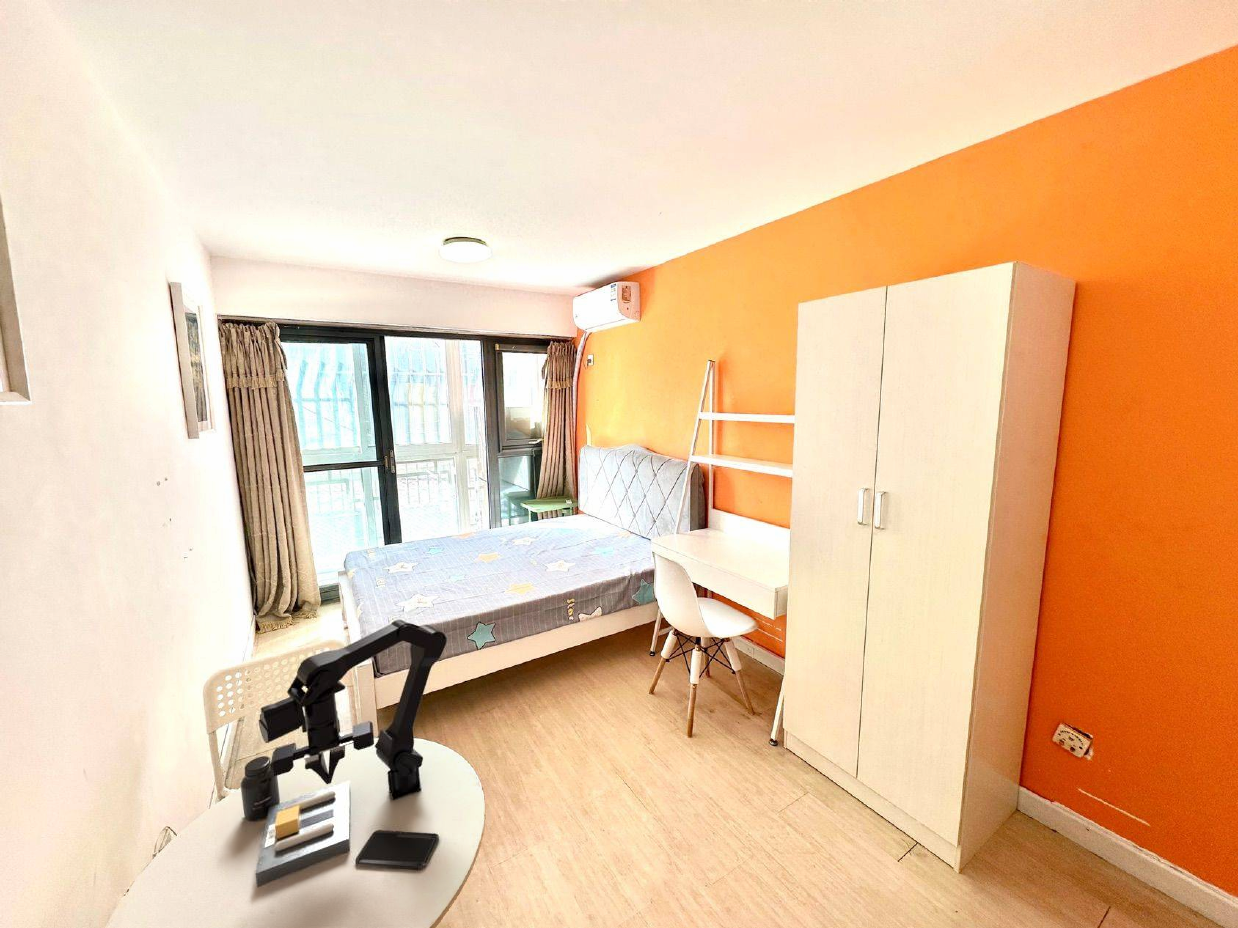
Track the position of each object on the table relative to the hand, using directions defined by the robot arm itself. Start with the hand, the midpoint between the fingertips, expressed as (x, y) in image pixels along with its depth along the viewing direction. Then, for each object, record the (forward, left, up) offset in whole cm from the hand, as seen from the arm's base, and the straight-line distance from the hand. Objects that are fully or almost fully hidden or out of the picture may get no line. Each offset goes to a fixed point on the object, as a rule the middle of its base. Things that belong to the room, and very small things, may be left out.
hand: (329, 782), depth 108 cm
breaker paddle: (+8, -2, -9) cm, 12 cm away
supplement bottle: (+15, -15, -12) cm, 24 cm away
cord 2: (+5, -7, -9) cm, 12 cm away
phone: (-12, +12, -13) cm, 21 cm away
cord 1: (+5, +3, -9) cm, 11 cm away
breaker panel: (+5, -2, -12) cm, 13 cm away
